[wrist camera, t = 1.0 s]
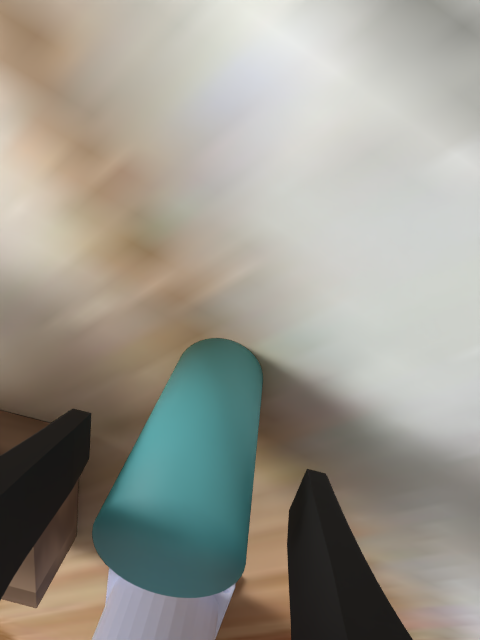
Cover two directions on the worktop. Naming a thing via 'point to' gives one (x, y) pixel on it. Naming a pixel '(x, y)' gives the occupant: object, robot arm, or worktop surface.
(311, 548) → the robot arm
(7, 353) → the worktop surface
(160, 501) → the peg
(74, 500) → the socket block
